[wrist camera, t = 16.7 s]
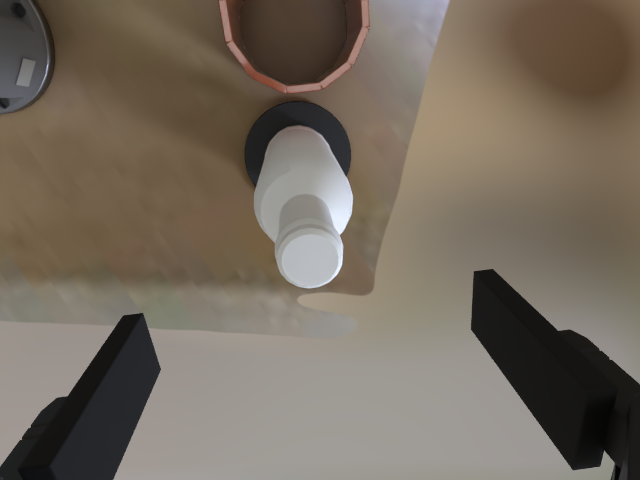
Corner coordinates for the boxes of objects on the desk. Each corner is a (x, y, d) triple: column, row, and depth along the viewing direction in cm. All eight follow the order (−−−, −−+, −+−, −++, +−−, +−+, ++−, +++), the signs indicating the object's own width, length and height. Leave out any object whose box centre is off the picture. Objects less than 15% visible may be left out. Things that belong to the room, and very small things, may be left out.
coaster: (230, 183, 51) (229, 184, 50) (268, 82, 47) (268, 82, 46) (324, 221, 53) (324, 222, 53) (367, 128, 49) (368, 129, 49)
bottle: (285, 199, 51) (281, 344, 24) (253, 144, 48) (205, 234, 21) (341, 170, 50) (405, 284, 23) (312, 112, 48) (344, 161, 20)
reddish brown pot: (218, 58, 45) (200, 54, 36) (260, -69, 41) (251, -111, 32) (323, 107, 48) (331, 115, 39) (372, -7, 44) (394, -29, 35)
